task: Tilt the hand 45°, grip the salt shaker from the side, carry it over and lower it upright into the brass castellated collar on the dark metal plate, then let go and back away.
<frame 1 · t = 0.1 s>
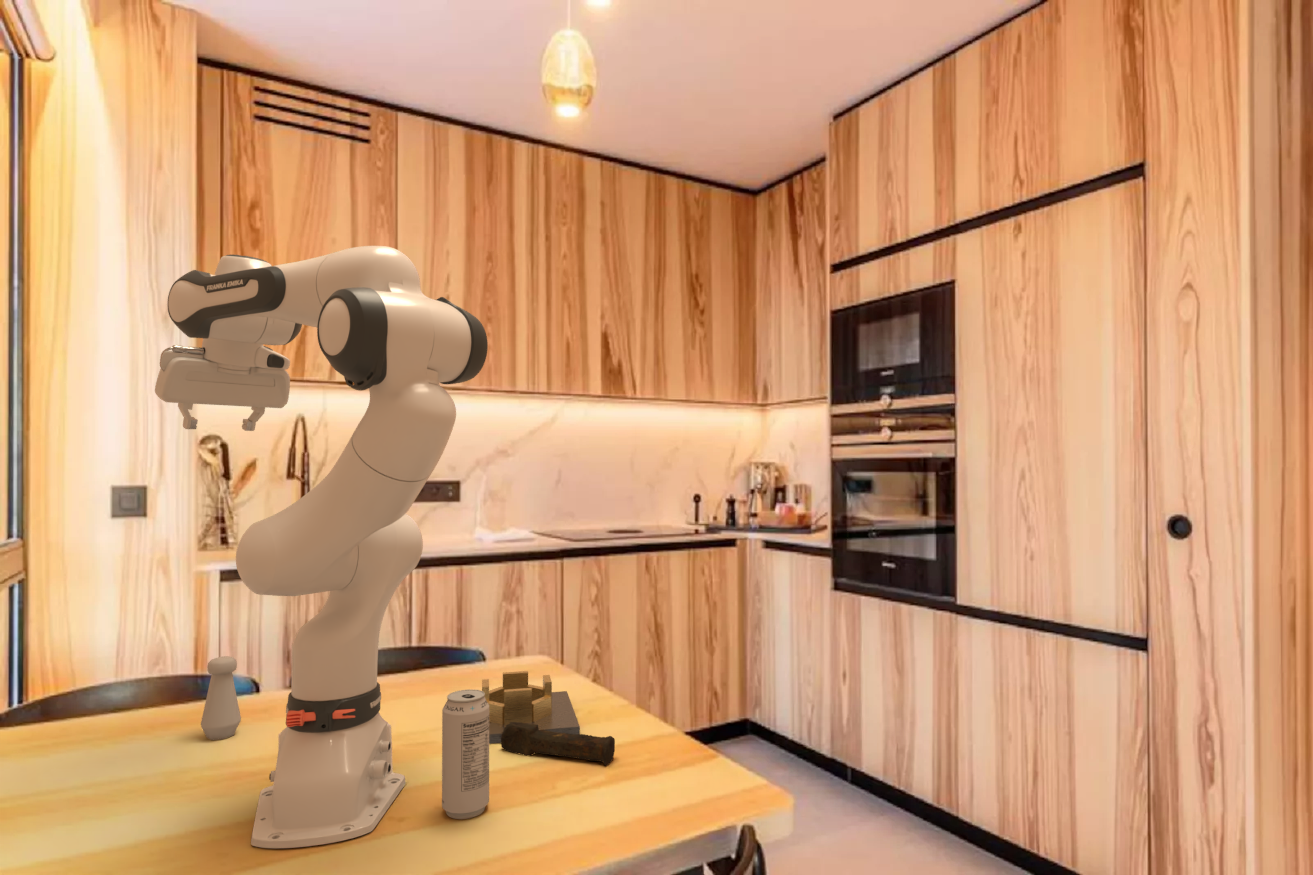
hand: (219, 429, 127), 52 cm above the table, tool tilted 20°, fingers open, 8 cm apart
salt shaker: (220, 736, 125), on the table
castellated collar: (516, 720, 131), on the table
energy drink can: (465, 811, 97), on the table
dark brown textured rod: (554, 759, 115), on the table
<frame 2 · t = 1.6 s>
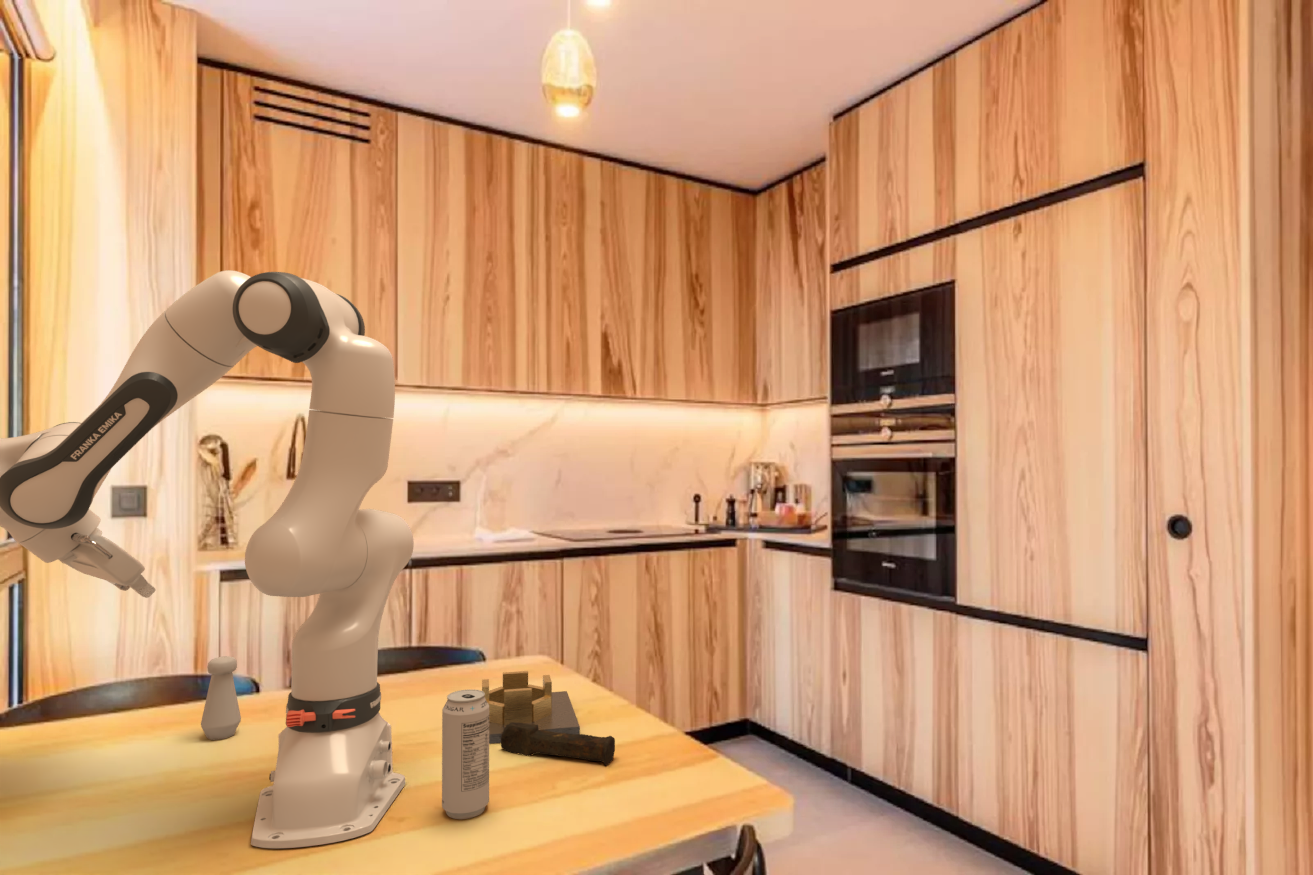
hand: (139, 590, 116), 26 cm above the table, tool tilted 45°, fingers open, 8 cm apart
nothing on the table moved.
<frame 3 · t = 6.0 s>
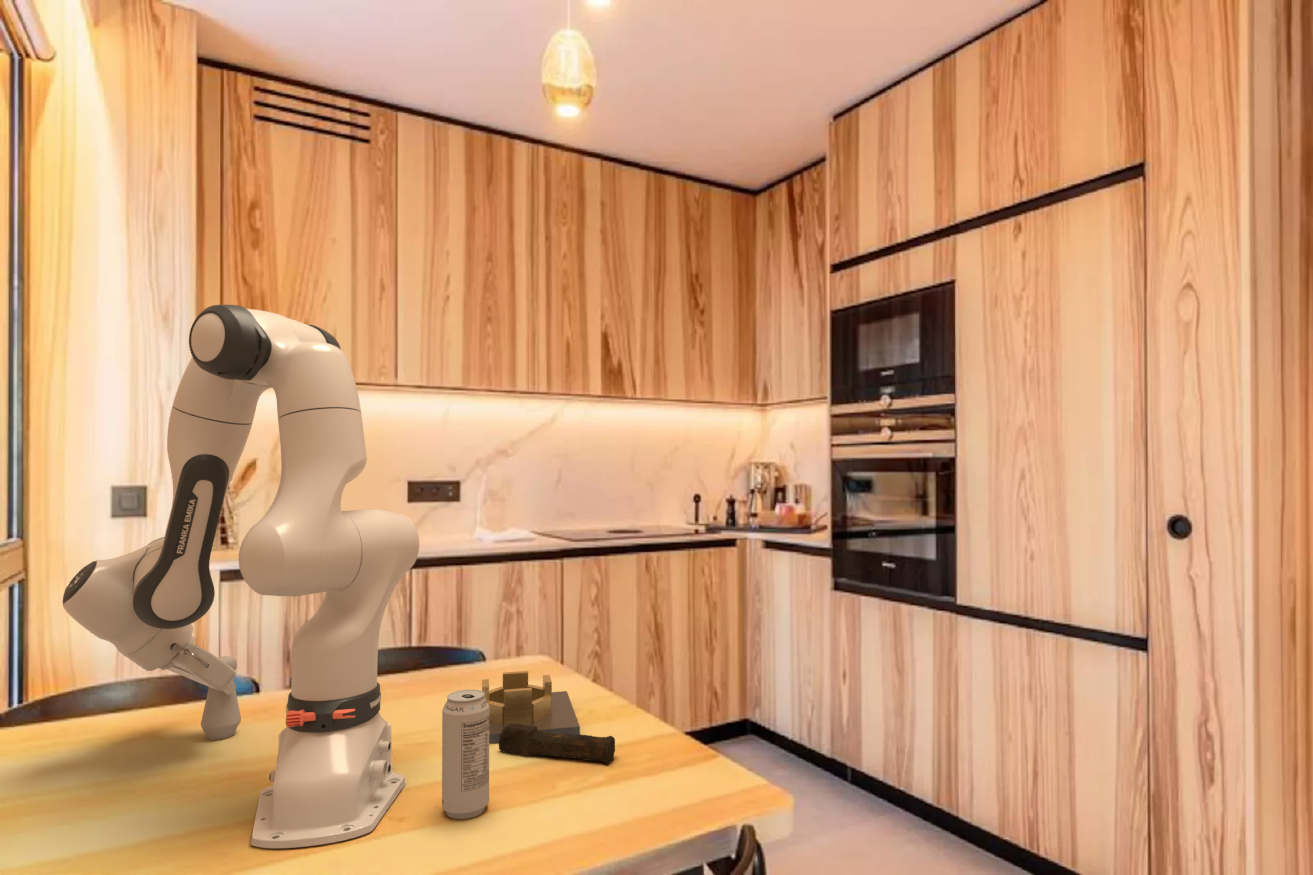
hand: (225, 688, 126), 8 cm above the table, tool tilted 45°, fingers closed on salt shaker, 3 cm apart
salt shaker: (221, 736, 125), on the table, touching gripper
everything else where it was.
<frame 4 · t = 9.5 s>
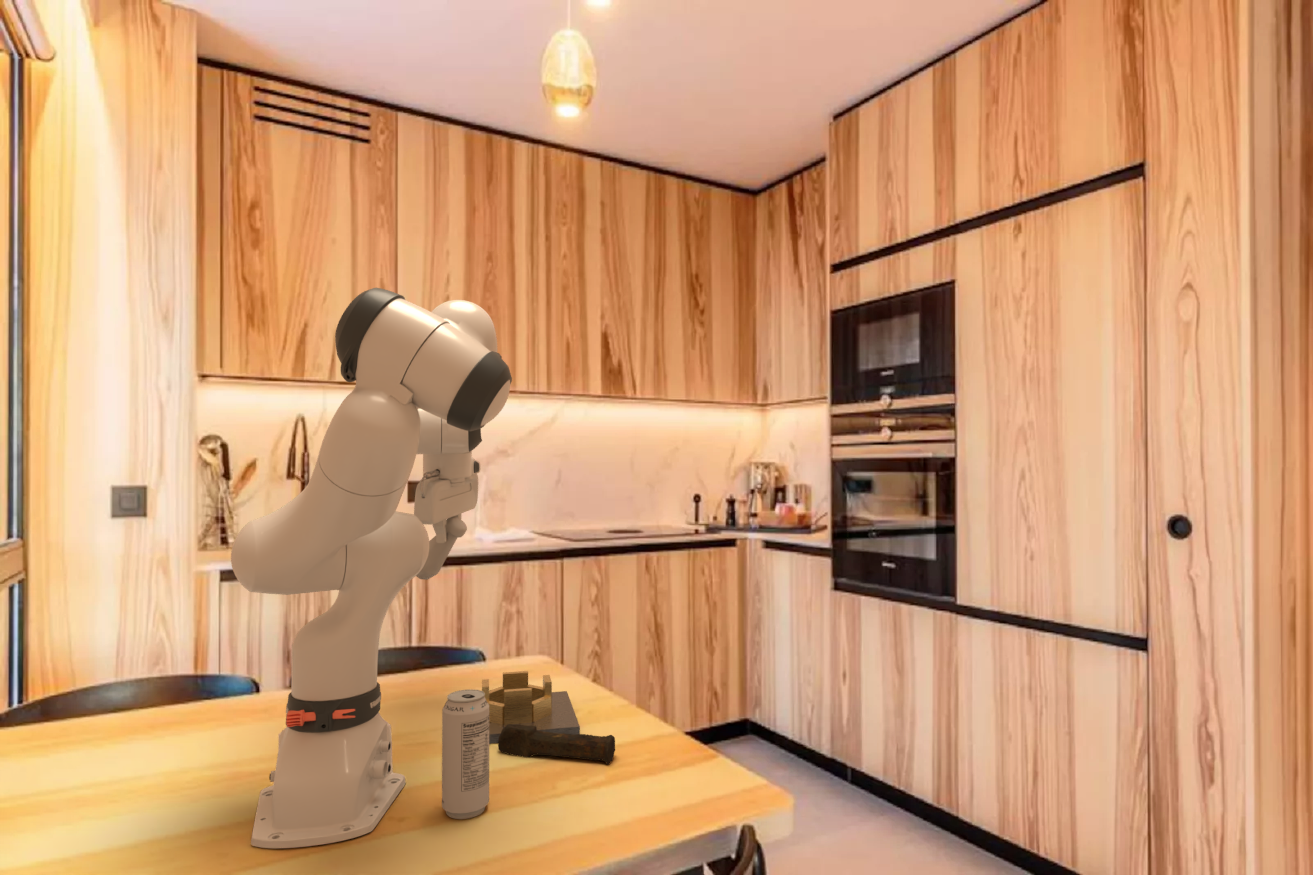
hand: (447, 540, 139), 31 cm above the table, tool pointing down, fingers closed on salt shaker, 3 cm apart
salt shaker: (418, 573, 141), point 25 cm above the table, touching gripper
everything else where it was.
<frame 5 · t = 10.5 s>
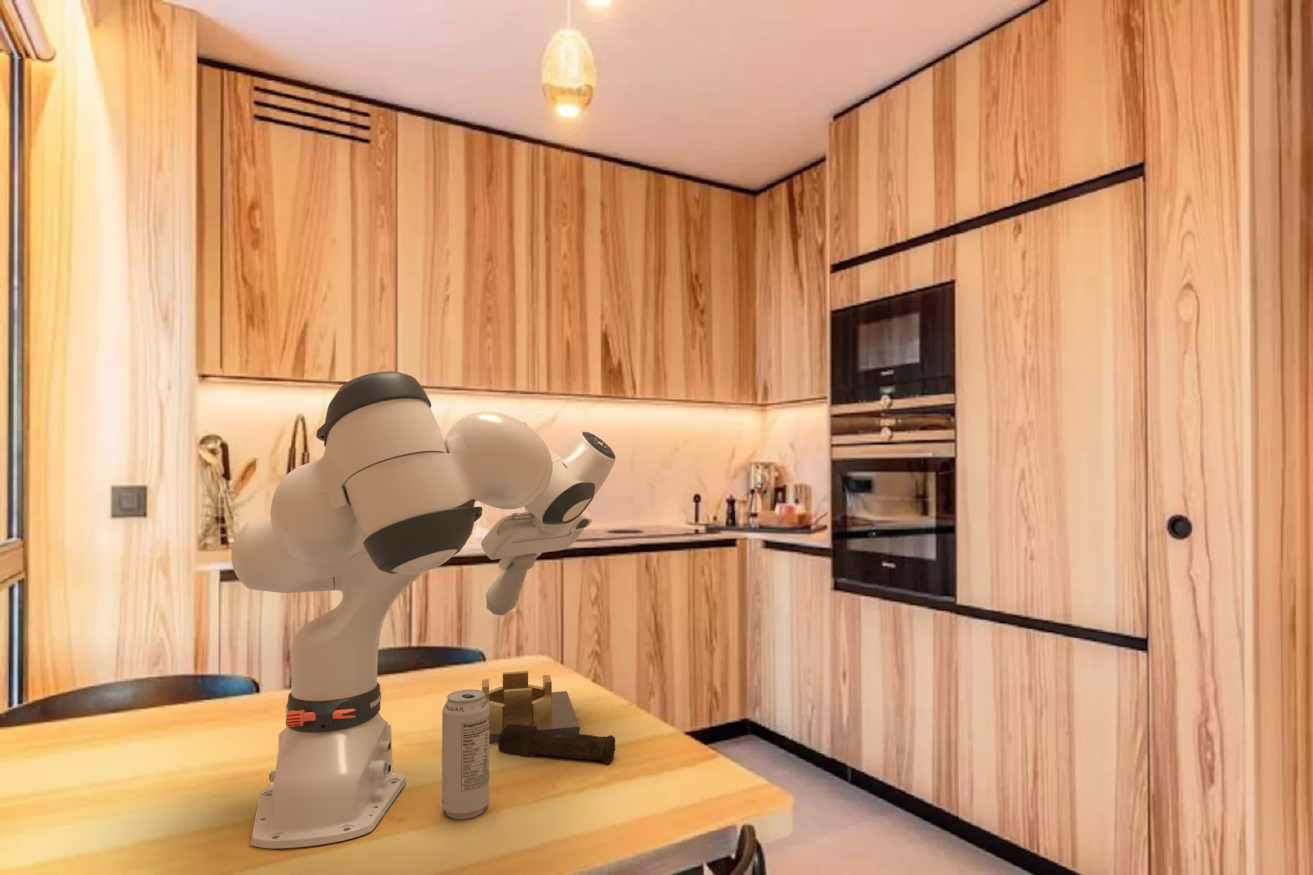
hand: (512, 565, 133), 27 cm above the table, tool tilted 45°, fingers closed on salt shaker, 3 cm apart
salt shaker: (495, 608, 135), point 19 cm above the table, touching gripper
everything else where it was.
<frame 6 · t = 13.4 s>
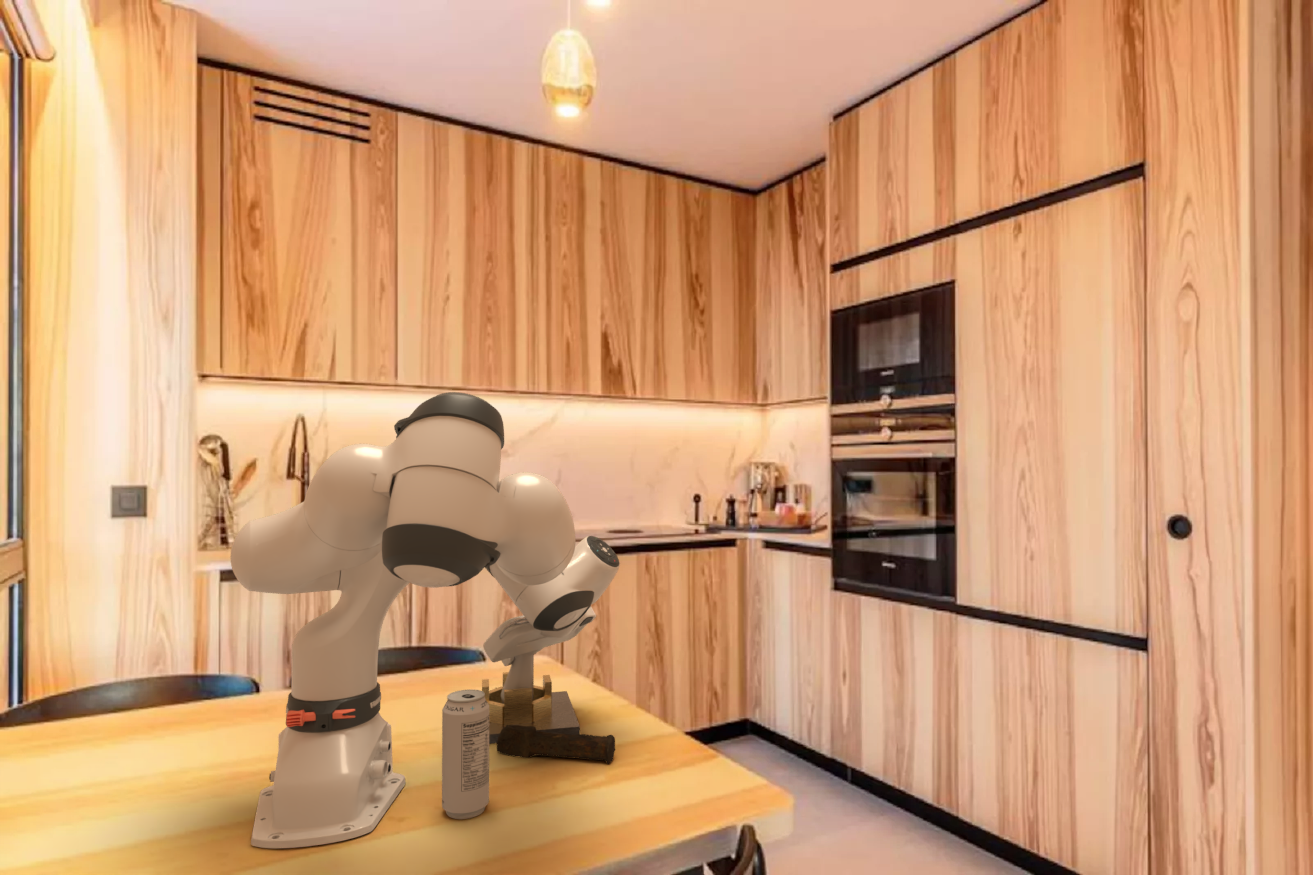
hand: (515, 659, 132), 11 cm above the table, tool tilted 45°, fingers closed on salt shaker, 3 cm apart
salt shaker: (514, 709, 132), point 2 cm above the table, touching castellated collar, gripper
everything else where it was.
when the fingers open (11 cm above the table, at t = 13.4 s): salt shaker stays where it is, resting on castellated collar.
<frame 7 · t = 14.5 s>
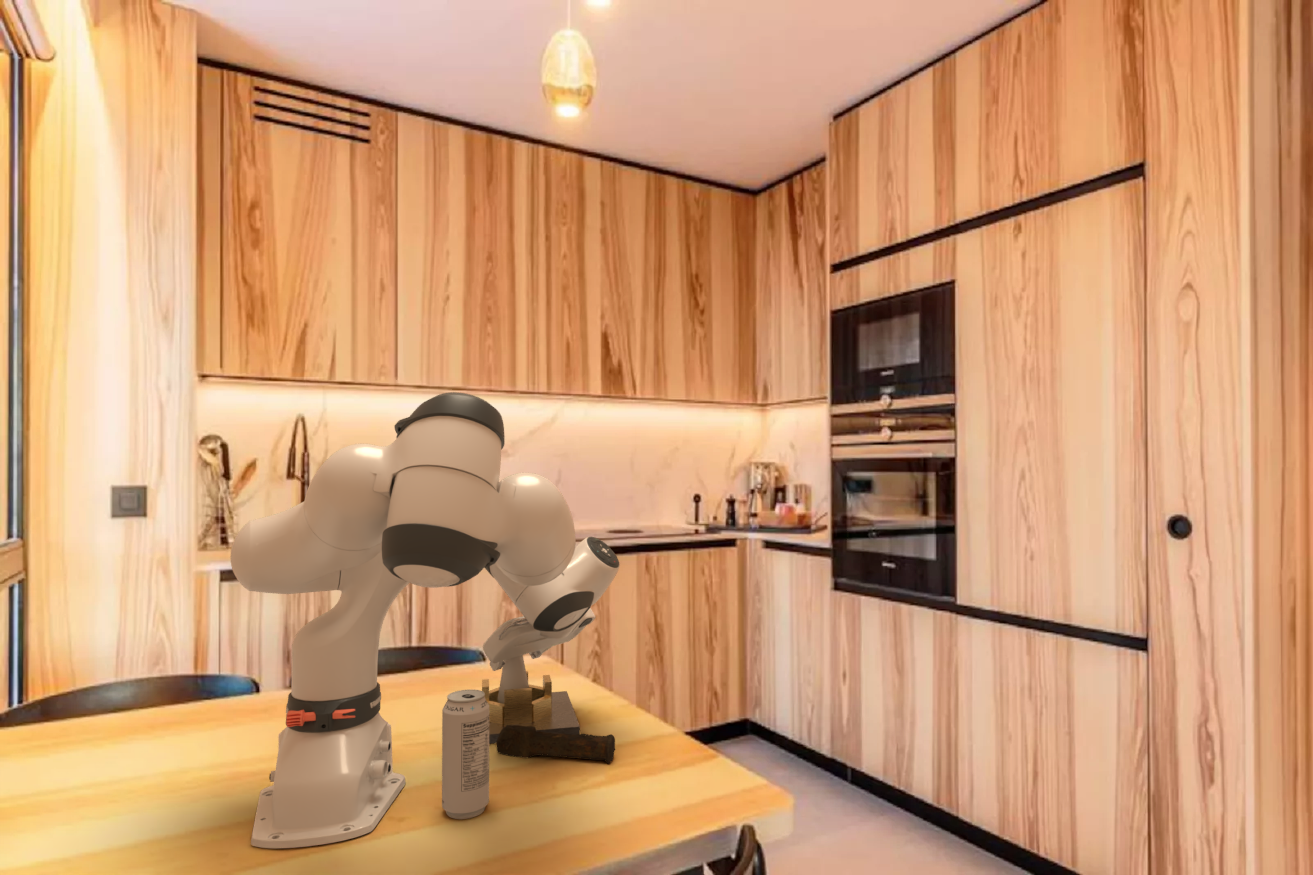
hand: (514, 661, 132), 10 cm above the table, tool tilted 45°, fingers open, 8 cm apart
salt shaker: (514, 711, 132), point 1 cm above the table, touching castellated collar
everything else where it was.
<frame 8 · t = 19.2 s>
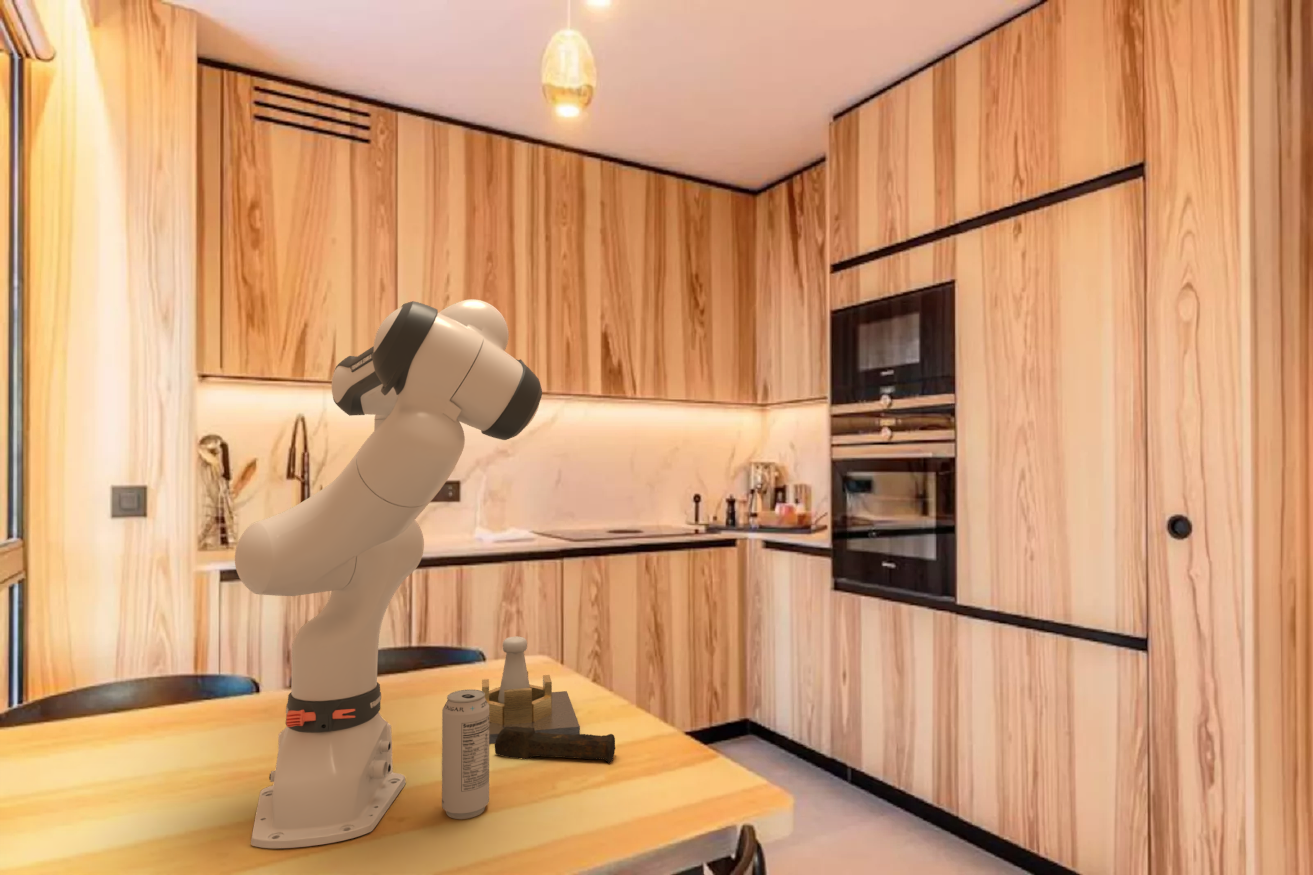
hand: (399, 510, 136), 37 cm above the table, tool pointing down, fingers open, 8 cm apart
at the end: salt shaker 0.6 cm off-centre on the castellated collar, point 1.3 cm above the castellated collar's base; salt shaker tilted 0°; the gripper is holding nothing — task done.
